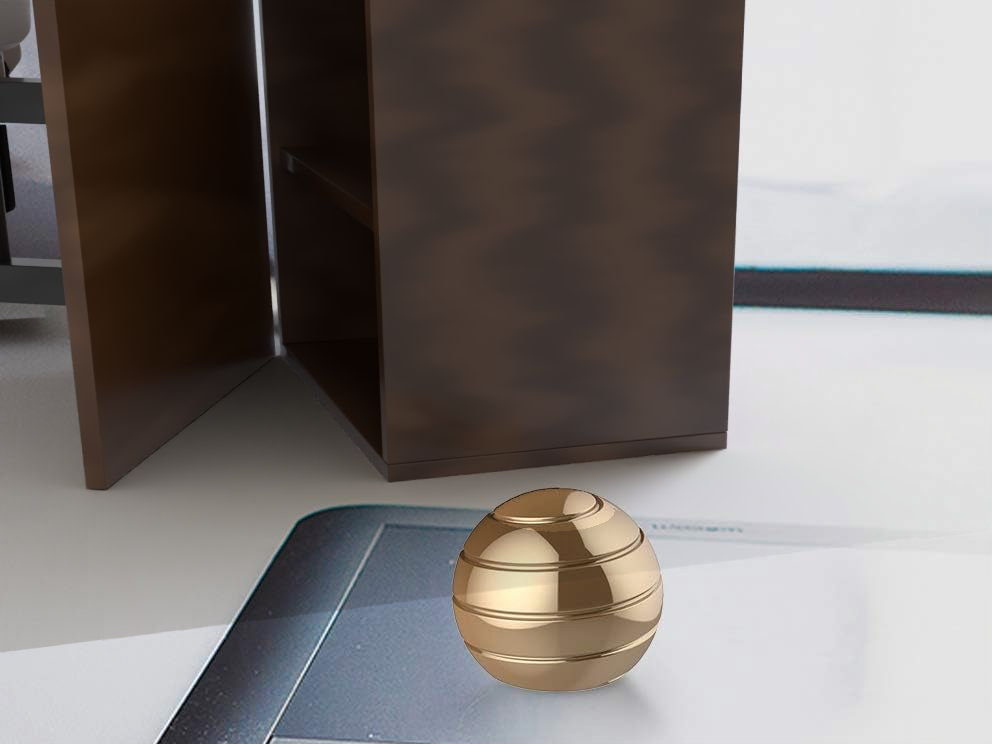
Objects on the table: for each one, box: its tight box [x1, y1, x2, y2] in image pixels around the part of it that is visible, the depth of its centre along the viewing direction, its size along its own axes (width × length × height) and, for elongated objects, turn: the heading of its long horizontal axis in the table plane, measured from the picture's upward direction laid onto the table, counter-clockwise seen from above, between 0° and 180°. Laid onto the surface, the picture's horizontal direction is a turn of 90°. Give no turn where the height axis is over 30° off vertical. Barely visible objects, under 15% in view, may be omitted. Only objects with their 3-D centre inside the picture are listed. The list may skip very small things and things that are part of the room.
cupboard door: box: [0, 0, 277, 491], centre depth 90 cm, size 7×26×24 cm, turn 174°
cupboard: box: [257, 0, 747, 483], centre depth 94 cm, size 18×26×24 cm
